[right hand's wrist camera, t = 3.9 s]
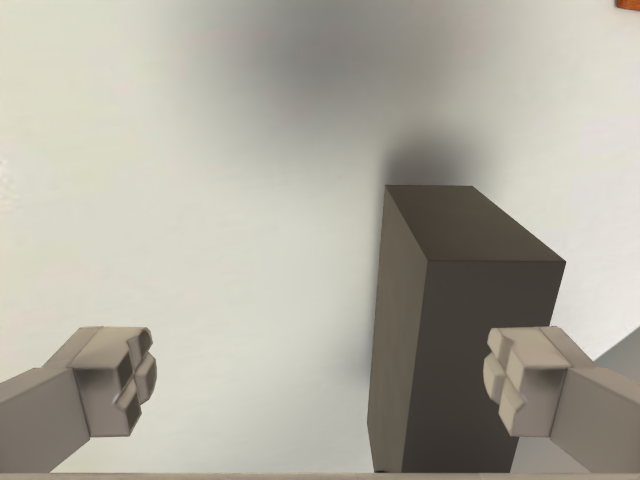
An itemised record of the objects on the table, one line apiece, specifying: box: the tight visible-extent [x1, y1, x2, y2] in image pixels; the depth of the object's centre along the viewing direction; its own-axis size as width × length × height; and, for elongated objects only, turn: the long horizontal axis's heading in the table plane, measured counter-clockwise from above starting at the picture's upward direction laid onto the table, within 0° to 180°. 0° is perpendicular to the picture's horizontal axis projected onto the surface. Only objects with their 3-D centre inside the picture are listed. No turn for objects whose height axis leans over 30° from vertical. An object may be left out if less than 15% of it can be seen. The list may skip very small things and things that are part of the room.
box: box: [367, 185, 566, 473], centre depth 29 cm, size 23×6×12 cm, turn 179°
